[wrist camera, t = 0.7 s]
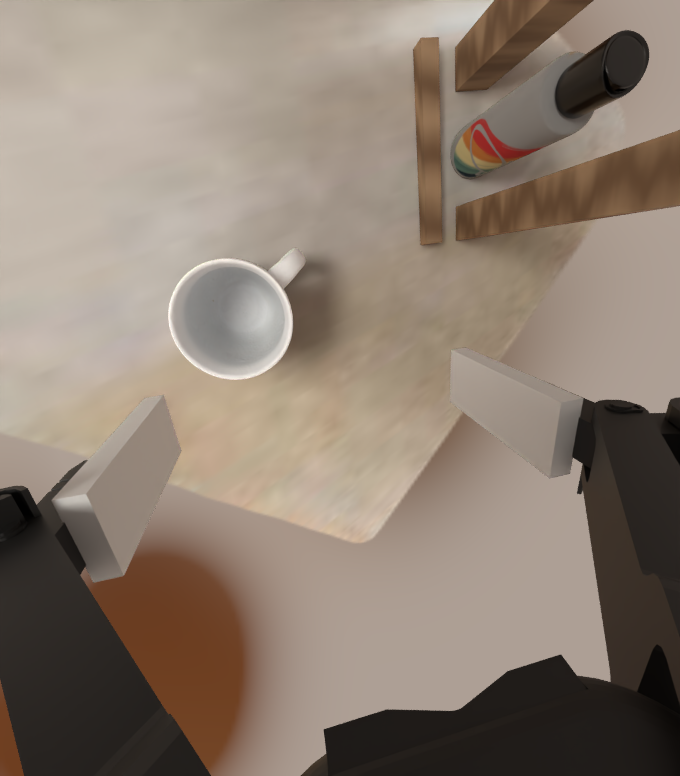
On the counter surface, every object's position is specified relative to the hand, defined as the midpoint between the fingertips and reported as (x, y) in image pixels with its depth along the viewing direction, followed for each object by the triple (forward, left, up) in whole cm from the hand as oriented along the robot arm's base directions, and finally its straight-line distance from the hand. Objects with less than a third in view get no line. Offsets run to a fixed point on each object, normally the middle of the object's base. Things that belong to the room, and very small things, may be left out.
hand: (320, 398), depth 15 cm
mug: (-2, -4, -31) cm, 31 cm away
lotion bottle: (-16, +26, -31) cm, 43 cm away
